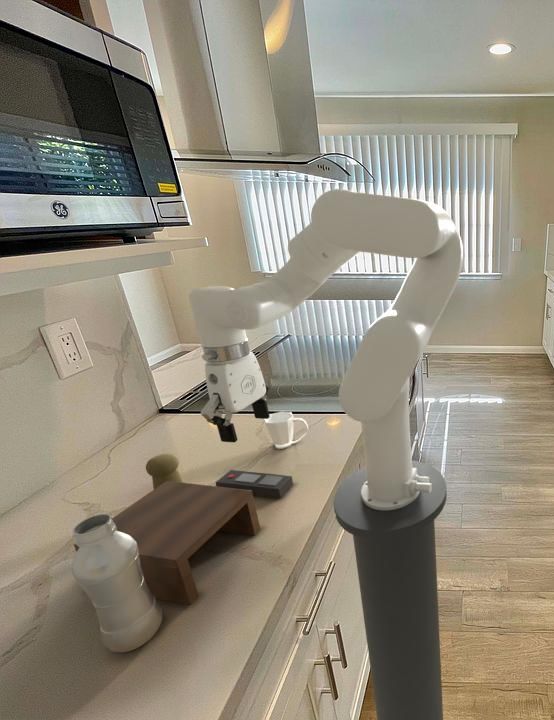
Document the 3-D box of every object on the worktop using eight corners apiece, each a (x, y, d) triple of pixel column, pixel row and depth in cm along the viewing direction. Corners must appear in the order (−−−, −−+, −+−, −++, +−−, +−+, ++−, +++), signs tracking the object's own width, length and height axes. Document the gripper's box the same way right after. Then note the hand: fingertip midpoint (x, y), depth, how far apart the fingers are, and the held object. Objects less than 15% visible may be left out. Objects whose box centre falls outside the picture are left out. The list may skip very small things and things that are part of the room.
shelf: (260, 529, 76) (251, 490, 73) (190, 605, 61) (175, 560, 58) (178, 518, 78) (166, 480, 75) (92, 588, 63) (73, 544, 60)
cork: (162, 496, 84) (147, 452, 81) (195, 490, 86) (182, 446, 83) (151, 515, 79) (135, 468, 75) (187, 508, 81) (173, 462, 77)
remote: (293, 484, 88) (291, 475, 87) (280, 498, 84) (278, 488, 83) (233, 478, 90) (230, 468, 89) (217, 491, 86) (215, 481, 85)
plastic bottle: (170, 606, 60) (132, 499, 54) (161, 646, 55) (117, 532, 48) (116, 626, 57) (68, 515, 51) (100, 670, 52) (45, 552, 45)
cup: (272, 439, 106) (266, 412, 104) (311, 434, 109) (307, 408, 106) (266, 453, 100) (260, 425, 97) (308, 447, 103) (303, 420, 100)
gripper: (208, 367, 68) (232, 453, 74) (273, 339, 84) (288, 411, 90) (171, 366, 69) (197, 450, 75) (242, 338, 85) (258, 409, 91)
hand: (247, 429), depth 82 cm, fingers open, 9 cm apart
